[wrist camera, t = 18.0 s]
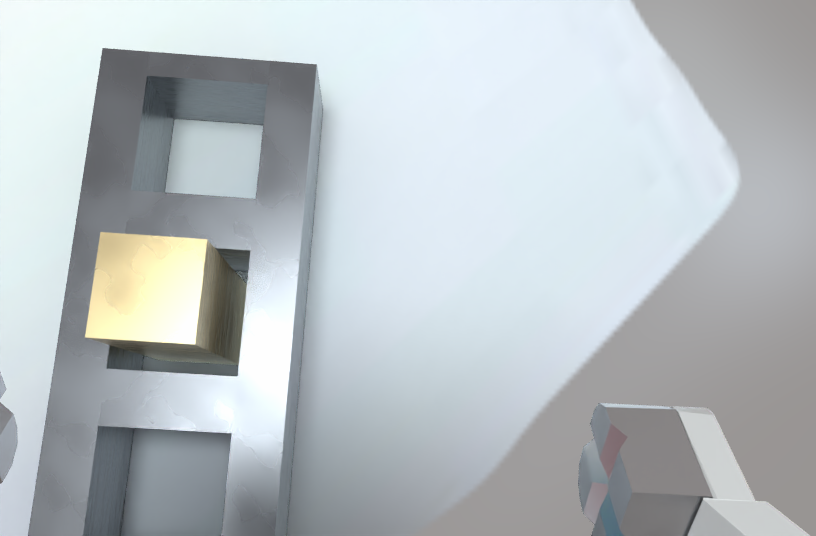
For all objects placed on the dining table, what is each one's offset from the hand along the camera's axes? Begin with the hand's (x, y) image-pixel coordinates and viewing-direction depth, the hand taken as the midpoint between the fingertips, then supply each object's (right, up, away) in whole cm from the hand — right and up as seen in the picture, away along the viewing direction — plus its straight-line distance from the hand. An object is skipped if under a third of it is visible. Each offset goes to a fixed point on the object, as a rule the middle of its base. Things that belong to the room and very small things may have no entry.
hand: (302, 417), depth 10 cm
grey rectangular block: (-9, -1, +27) cm, 29 cm away
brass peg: (-9, -1, +27) cm, 29 cm away
